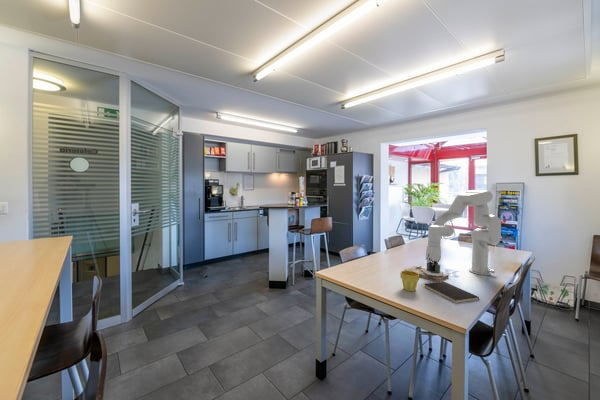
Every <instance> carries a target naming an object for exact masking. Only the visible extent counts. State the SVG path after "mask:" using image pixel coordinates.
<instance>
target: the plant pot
mask: <svg viewBox="0 0 600 400" xmlns="http://www.w3.org/2000/svg"><path fill="white" fill-rule="evenodd" d="M399 274H400V275H399V276H400V279H401V282H402V287H403V289H404V290H405V291H408V292H415V291H416V290H417V285H418V282H419V281H420V277H419V274H418V273H417V272H414V271H404V270H402V271H400V273H399Z"/></svg>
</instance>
